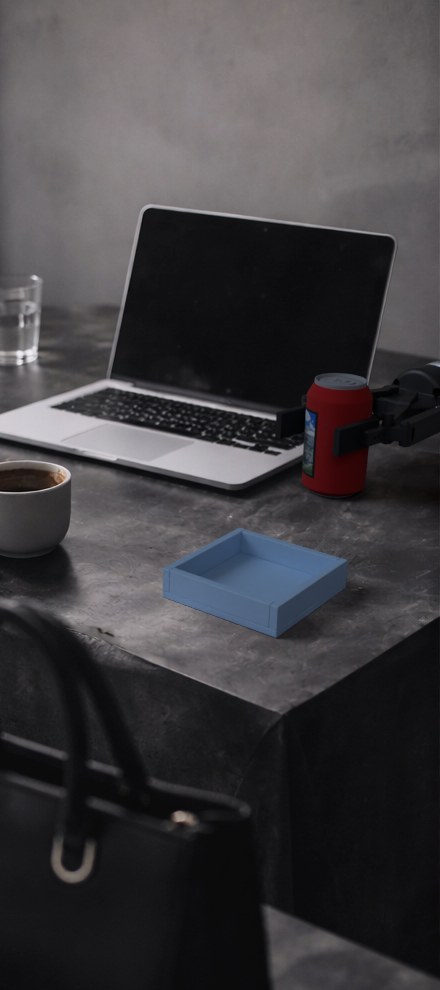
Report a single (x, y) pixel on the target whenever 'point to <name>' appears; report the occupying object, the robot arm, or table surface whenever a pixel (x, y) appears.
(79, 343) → the table surface
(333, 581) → the tray
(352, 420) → the beverage can
